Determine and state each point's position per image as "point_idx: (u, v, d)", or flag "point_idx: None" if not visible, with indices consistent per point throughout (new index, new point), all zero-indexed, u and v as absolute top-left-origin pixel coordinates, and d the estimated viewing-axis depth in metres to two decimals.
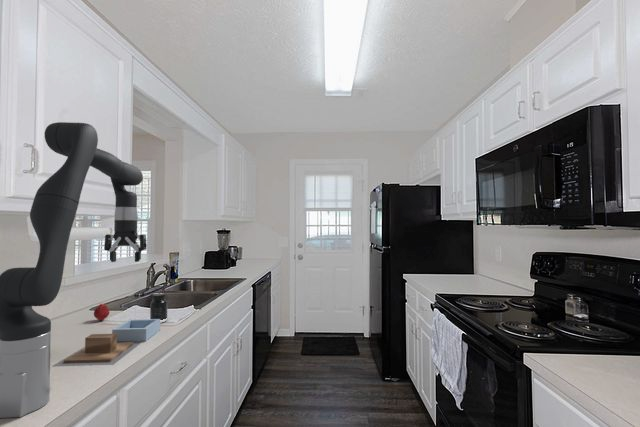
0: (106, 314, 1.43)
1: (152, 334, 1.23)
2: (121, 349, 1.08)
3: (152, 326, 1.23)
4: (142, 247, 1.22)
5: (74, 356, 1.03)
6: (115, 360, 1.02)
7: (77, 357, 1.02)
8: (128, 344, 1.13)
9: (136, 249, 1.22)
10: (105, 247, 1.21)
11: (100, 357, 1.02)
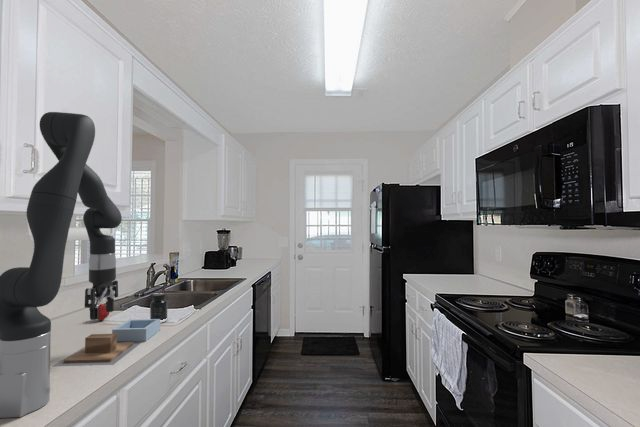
0: (106, 314, 1.43)
1: (152, 334, 1.23)
2: (121, 349, 1.08)
3: (152, 326, 1.23)
4: (117, 294, 1.15)
5: (74, 356, 1.03)
6: (115, 360, 1.02)
7: (77, 357, 1.02)
8: (128, 344, 1.13)
9: (114, 297, 1.12)
10: (93, 304, 1.01)
11: (100, 357, 1.02)
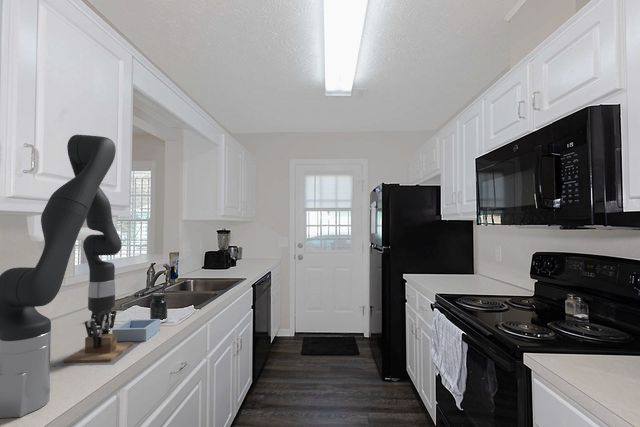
0: None
1: (152, 334, 1.23)
2: (121, 349, 1.08)
3: (152, 326, 1.23)
4: (112, 324, 1.12)
5: (74, 356, 1.03)
6: (115, 360, 1.02)
7: (77, 357, 1.02)
8: (128, 344, 1.13)
9: (109, 329, 1.10)
10: (96, 333, 1.03)
11: (100, 357, 1.02)
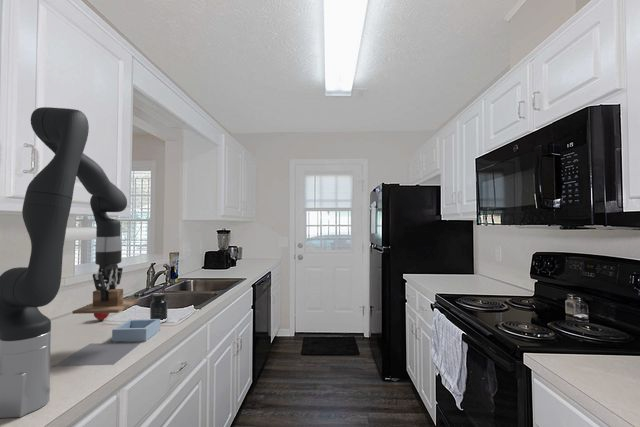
0: (106, 314, 1.43)
1: (152, 334, 1.23)
2: (128, 303, 1.11)
3: (152, 326, 1.23)
4: (119, 281, 1.15)
5: (82, 308, 1.06)
6: (115, 360, 1.02)
7: (86, 309, 1.05)
8: (134, 300, 1.16)
9: (115, 284, 1.13)
10: (104, 286, 1.06)
11: (107, 309, 1.05)
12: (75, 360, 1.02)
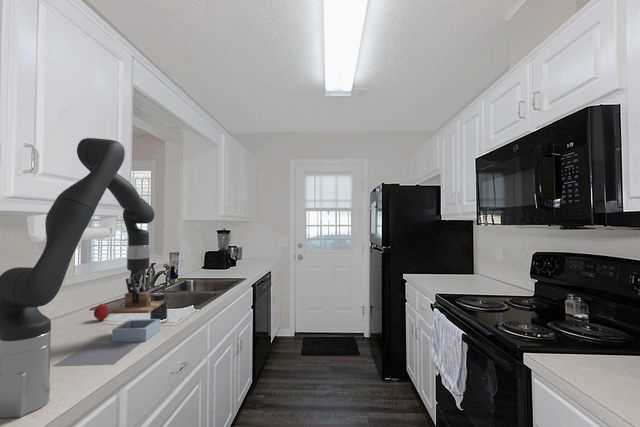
0: (106, 314, 1.43)
1: (152, 334, 1.23)
2: (155, 305, 1.25)
3: (152, 326, 1.23)
4: (147, 285, 1.28)
5: (116, 309, 1.19)
6: (115, 360, 1.02)
7: (119, 310, 1.18)
8: (160, 302, 1.29)
9: (144, 288, 1.26)
10: (135, 289, 1.20)
11: (139, 309, 1.18)
12: (75, 360, 1.02)
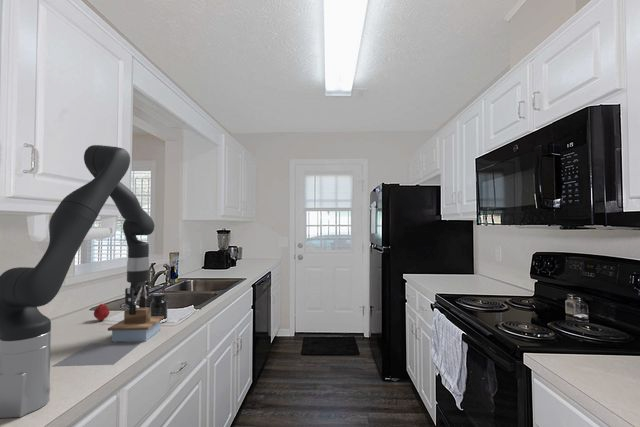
0: (106, 314, 1.43)
1: (152, 334, 1.23)
2: (154, 321, 1.25)
3: (152, 326, 1.23)
4: (148, 293, 1.30)
5: (115, 325, 1.19)
6: (115, 360, 1.02)
7: (119, 326, 1.18)
8: (159, 317, 1.29)
9: (146, 296, 1.28)
10: (132, 301, 1.18)
11: (138, 326, 1.18)
12: (75, 360, 1.02)
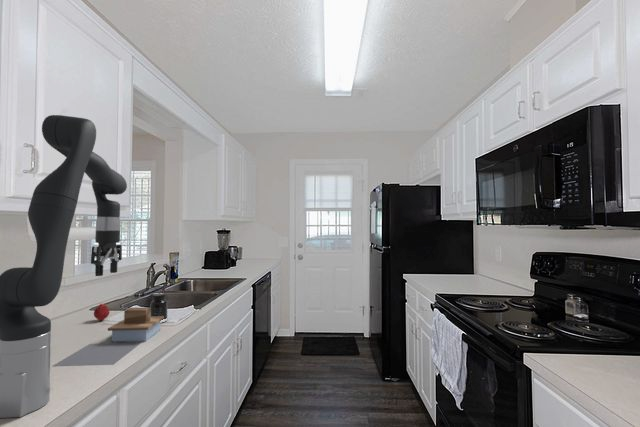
0: (106, 314, 1.43)
1: (152, 334, 1.23)
2: (154, 321, 1.25)
3: (152, 326, 1.23)
4: (121, 257, 1.24)
5: (115, 325, 1.19)
6: (115, 360, 1.02)
7: (119, 326, 1.18)
8: (159, 317, 1.29)
9: (117, 259, 1.22)
10: (98, 260, 1.10)
11: (138, 326, 1.18)
12: (75, 360, 1.02)
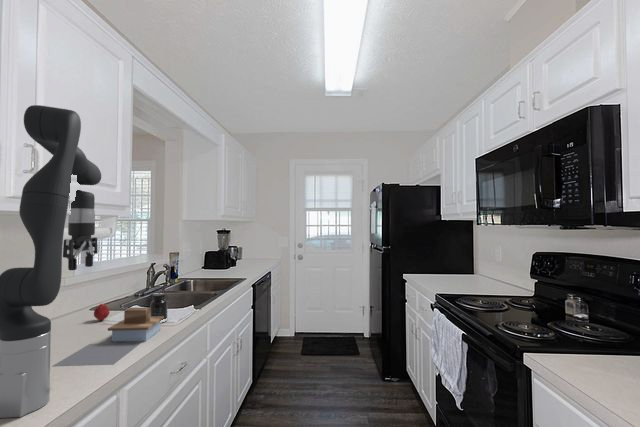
0: (106, 314, 1.43)
1: (152, 334, 1.23)
2: (154, 321, 1.25)
3: (152, 326, 1.23)
4: (97, 250, 1.19)
5: (115, 325, 1.19)
6: (115, 360, 1.02)
7: (119, 326, 1.18)
8: (159, 317, 1.29)
9: (93, 253, 1.17)
10: (71, 254, 1.06)
11: (138, 326, 1.18)
12: (75, 360, 1.02)
